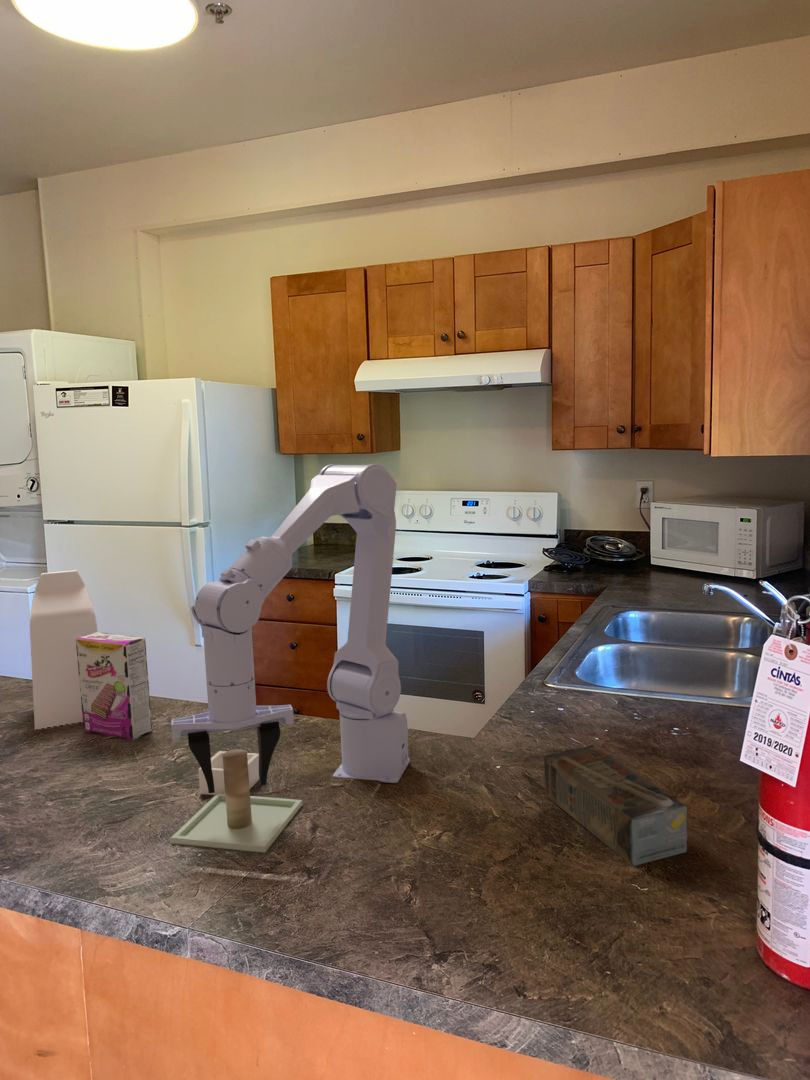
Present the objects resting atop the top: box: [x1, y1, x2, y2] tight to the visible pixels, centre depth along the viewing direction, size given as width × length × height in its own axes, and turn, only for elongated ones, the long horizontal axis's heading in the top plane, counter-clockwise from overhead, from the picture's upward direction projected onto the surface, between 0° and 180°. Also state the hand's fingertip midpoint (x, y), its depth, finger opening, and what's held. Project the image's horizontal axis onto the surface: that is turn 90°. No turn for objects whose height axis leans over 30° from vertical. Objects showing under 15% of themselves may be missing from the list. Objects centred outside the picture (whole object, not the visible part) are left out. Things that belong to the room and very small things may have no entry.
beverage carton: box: [543, 744, 688, 867], centre depth 96 cm, size 8×19×7 cm, turn 20°
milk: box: [29, 569, 98, 731], centre depth 141 cm, size 12×12×26 cm
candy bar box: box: [76, 632, 153, 741], centre depth 132 cm, size 11×5×16 cm, turn 65°
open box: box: [197, 750, 260, 796], centre depth 109 cm, size 6×6×4 cm
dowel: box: [222, 748, 252, 829], centre depth 98 cm, size 3×3×9 cm
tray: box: [170, 793, 303, 854], centre depth 98 cm, size 12×12×1 cm
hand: (237, 785), depth 98 cm, fingers open, 6 cm apart
